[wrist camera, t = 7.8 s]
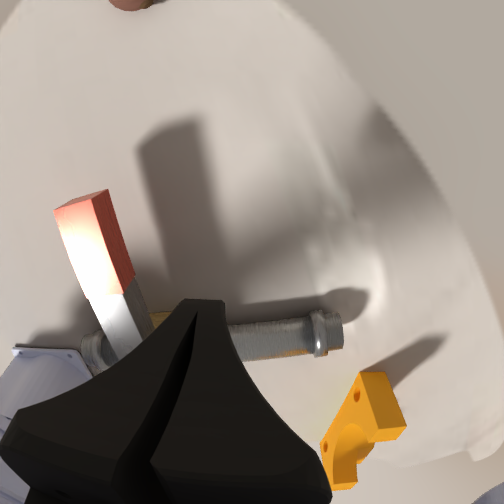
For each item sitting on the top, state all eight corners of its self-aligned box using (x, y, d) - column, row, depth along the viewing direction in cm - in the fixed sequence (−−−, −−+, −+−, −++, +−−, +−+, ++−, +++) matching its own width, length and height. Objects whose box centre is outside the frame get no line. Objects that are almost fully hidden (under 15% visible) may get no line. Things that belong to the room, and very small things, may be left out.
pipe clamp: (354, 441, 30) (365, 487, 24) (319, 442, 30) (327, 491, 24) (400, 370, 25) (424, 423, 19) (358, 370, 25) (378, 429, 19)
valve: (106, 357, 24) (94, 383, 21) (86, 316, 22) (70, 341, 19) (334, 339, 23) (343, 368, 20) (334, 291, 21) (345, 318, 18)
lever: (186, 381, 20) (181, 402, 18) (145, 383, 20) (138, 403, 19) (114, 186, 15) (97, 196, 13) (66, 201, 15) (47, 212, 13)
